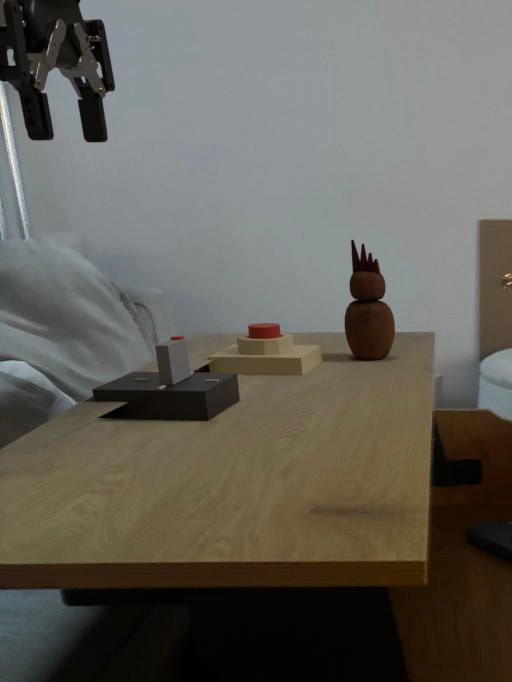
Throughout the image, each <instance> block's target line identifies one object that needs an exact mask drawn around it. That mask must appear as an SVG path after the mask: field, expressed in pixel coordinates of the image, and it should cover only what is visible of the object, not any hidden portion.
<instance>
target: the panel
mask: <svg viewBox="0 0 512 682" xmlns="http://www.w3.org/2000/svg"><path fill="white" fill-rule="evenodd" d="M190 372H191V376H190V377H188V378H186V379H184V380H182V381H180V382H178V383H176V384H174V385H161V384H160V377H159V371H132V372H130V373H127V374H125V375H122V376H120V377H118V378H115V379H113V380H111V381H109V382H106V383H103V384H101V385H99V386H97V387H95V388H92V397H93V402H109V403H110V402H117V403H120V402H122V403H123V404H122V405H120V406H118V407H116V408H114V409H112V410H110V411H108V412H106V413H104V414H101V415H99V416H98V417H97V419H106V420H107V419H111V420H113V419H114V420H158V421H159V420H160V421H161V420H163V421H164V420H165V421H167V420H168V421H210V420H211V419H213V418H215V417H216V416H217V415H219V414H221V413H222V412H224V411H225V410H227V409H228V408H230V407H232V406H233V405H235V404H236V403H238V402H239V401H241V398H240V388H239V379H238V378H239V377H238V374H237V373H210V372H194V371H190Z"/></svg>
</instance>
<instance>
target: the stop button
mask: <svg viewBox="0 0 512 682" xmlns="http://www.w3.org/2000/svg"><path fill="white" fill-rule="evenodd" d="M247 330H248V334H249V338H252V339H270V338H278V337H281V333H282V332H281V325H280V323H277V322H276V323H274V322H259V323H257V322H256V323H251V324H248V325H247ZM280 332H281V333H280Z"/></svg>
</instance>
